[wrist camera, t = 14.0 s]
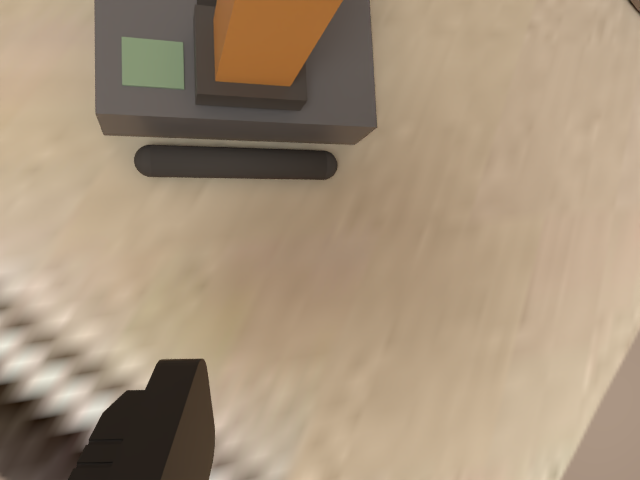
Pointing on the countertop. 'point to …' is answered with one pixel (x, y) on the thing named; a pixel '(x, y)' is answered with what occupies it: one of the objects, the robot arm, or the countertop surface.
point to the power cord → (234, 162)
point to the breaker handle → (256, 51)
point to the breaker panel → (220, 121)
